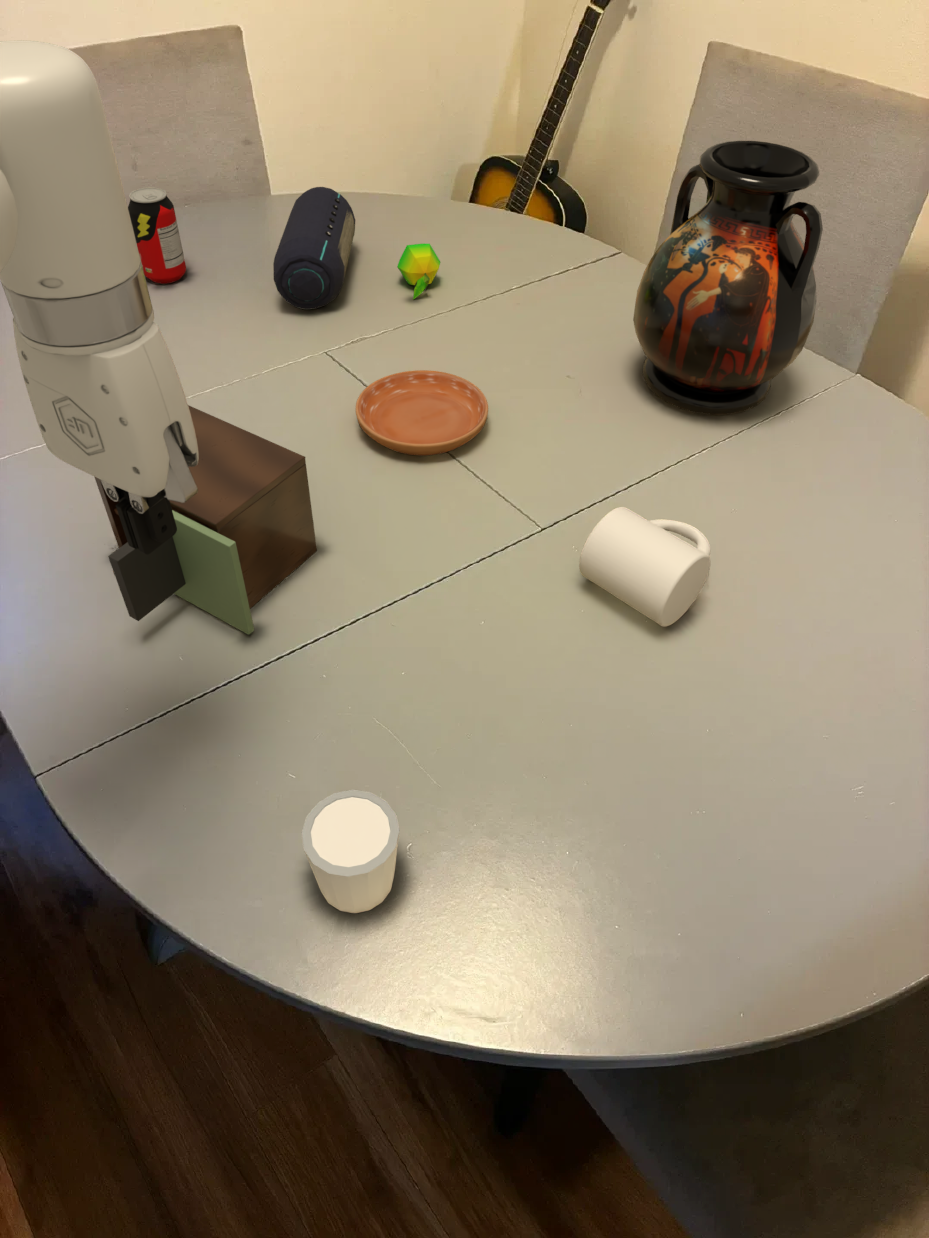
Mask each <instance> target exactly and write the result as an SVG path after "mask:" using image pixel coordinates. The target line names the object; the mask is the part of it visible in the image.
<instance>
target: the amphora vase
mask: <svg viewBox="0 0 929 1238" xmlns="http://www.w3.org/2000/svg"><path fill="white" fill-rule="evenodd" d="M819 176H820V169H819V165H818V164H817V162H816V161H815V160H814V159H813V158H812V157H811V156H809V155H808V154H806V153H805V152H803V151H800V150H798V149H796V148H793V147H790V146H787V145H783V144H779V143H774V142H768V141H761V140H730V141H725V142H724V141H723V142H720V143H716V144H714V145H712V146H710V147H708V148H706V149H705V150H704V151H703V152H702V153H701V155H700V156H699V163H698V164H696V165H693V166H692V167H691V168H689V170H688V171H687V173H686V174H685V175H684V176H683V178H682V179H681V183H680V186H679V189H678V192H677V196H676V202H675V207H674V212H673V217H672V223H671V228H670V232H669V233H670V234H669V236H667V238H665V240H664V241H663V242H662V243H660V245H659V247H658V248H657V249H656V250H655V252H654V253H653V254H652V256H651V257H650V260H649V262H648V263H647V265H646V267H645V269H644V271H643V273H642V277H641V279H640V282H639V285H638V288H637V290H636V296H635V303H634V311H633V318H632V321H633V326H634V331H635V335H636V337H637V340H638V342H639V345H640V347H641V349H642V352H643V353H644V355H645V356H646V359H644V361H643V367H642V376H643V379H644V381H645V384H646V385H647V387H648V388H649V389H650V390H651V391H652V393H653V394H654V395H655V396H657V397H658V398H659V399H662V400H663V401H664V402H665V403H668V404H669V405H671V406H674V407H676V408H678V409H682V410H684V411H688V412H692V413H694V414H695V413H696V414H701V415H711V416H719V415H720V416H721V415H722V416H723V415H725V416H727V415H734V414H738V413H739V414H740V413H743V412H746V411H748V410H750V409H753V408H755V407H756V406H758V405H760V404H761V403H762V402H763V401H764V400H765V399H766V398H767V395H768V393H769V391H770V389H771V386H772V385H771V380H773V379H774V378H775V377H776V376H778V375H779V374H781V372H783V371H784V370H786V369H787V368H788V367H789V366H790V365H791V364H793V362H795V360H796V359H797V358H798V356H799V355H800V354H801V353H802V351H803V349H804V346H805V345H806V343H807V340H808V338H809V336H810V332H811V329H812V327H813V324H814V323H815V322H814V321H815V314H816V306H817V281H816V275H815V269H814V265H815V261H816V258H817V255H818V252H819V249H820V245H821V240H822V236H823V230H824V229H823V228H824V227H823V221H822V214H821V212H820V210H819V209H818V208H817V206H815V204H812V203H810V202H805V201H798V202H794V203H793V204H791V202H792V200H793V197H794V195H795V192H800V191H803V190H806V189H807V188H810V186H812V185H814V184H815V183H816V181H817V180H818V178H819ZM700 178H701V179H702V180H703V181H704V185H705V187H706V191H707V192H706V199H705V200H706V202H705V204H704V205H703V206H702V207H701V208H700V209H699V210H697V212H695V213H694V214H692V215H691V216H690V215H689V214H690V208H691V201H692V195H693V192H694V189H695V187H696V184H697V181H698V180H699V179H700ZM796 215H797V216H799V217H801V218H802V219H803V222H804V223H805V236H804V237H805V238H804V241H803V239H802V237H801V235H800V234H799V232H798V230H797V228H796V227H795V224H794V223H793V219H794V217H795V216H796ZM689 216H690V217H689Z"/></svg>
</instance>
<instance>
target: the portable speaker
mask: <svg viewBox="0 0 929 1238" xmlns="http://www.w3.org/2000/svg"><path fill="white" fill-rule="evenodd" d="M355 231H356V217H355V214H354V211H353V208H352V207H351V205H350V203H349V202H348V200H347V199H346V198H345V197H344V196H343V195H342V194H341V193H339V192H337V191H336V190H334V189H332V188H330V187H326V186H315V187H311V188H309V189H307V190H306V191H304V192H303V193H302V194H301V195H300V196H298V198H296V199H295V201H294V204H293V206H292V208H291V211H290V213H289V215H288V218H287V222H286V225H285V228H284V230H283V233H282V235H281V238H280V242H279V243H278V246H277V250H276V252H275V255H274V259H273V264H272V265H273V281H274V286H275V288H276V290H277V293H278V294H279V295H280V296H281V297H282V298H283V299H284V301H285V302H286V303H288V304H290V305H292V306H293V308H298V309H301V310H315V309H319V308H321V307H324V306H327V305H328V304H330V303H331V302H332V301H334V300H335V299H336V298H337V297H338V296H339V294H340V292H341V290H342V287H343V285H344V282H345V277H346V273H347V268H348V263H349V259H350V254H351V250H352V245H353V241H354V237H355V233H356V232H355Z"/></svg>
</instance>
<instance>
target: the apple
mask: <svg viewBox="0 0 929 1238" xmlns="http://www.w3.org/2000/svg"><path fill="white" fill-rule="evenodd" d="M440 266H441V260H440V259H439V257H438V255H437V253H436V251H435V250H434V249H433V247H432V245H431V243H416V244H407V245H406V246H405V248H404V250H403V252H402V254H401V256H400V258H399V261H398V263H397V267H396V268H397V269H398V270H399V272H400V274H401V275H402V277H403V278H404V280H405V282H406V283H407V285H410V286H414V288H413V296H412V299H413V301H414V300H415V299H416V298H417V297H419V296H420V295H421V294H422V293H424V292H425V291H426V290H427V288H428V286H429V285H431V284H432V282H433V281H434V279H435V277H436V275H437V273H438V272H439V270H440Z"/></svg>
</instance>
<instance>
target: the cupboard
mask: <svg viewBox="0 0 929 1238" xmlns="http://www.w3.org/2000/svg"><path fill="white" fill-rule="evenodd" d="M188 407H189V410H190V414H191V418H192V422H193V425H194V429H195V434H196V439H197V445H198V453H199V460H198V464H197V465H196V466H194V467H189V466H188V467H189V469H190V472H191V474H192V476H193V479H194V481H195V483H196V486H197V488H198V493H197V494H195V495H194V496H193V497H191V498H190V499H189V500H187V501H186V502H185V503H181V502H176V501H171V500H169V501H170V505H171V508H172V510H173V511H175V512H177V513H179V514H181V515H183V516H185V517H187V518H189V519H191V520H193V521H195V522H197V523H199V524H201V525H203V526H205V527H207V528H209V529H211V530H213V531H215V532H217V533H219V534H221V535H223V536H225V537H227V538H229V539H231V540H233V541H235V542H236V547H237V551H238V556H239V561H240V566H241V570H242V575H243V580H244V584H245V589H246V594H247V598H248V603H249V608H250V609H251V608H253V607H254V606H255V605H257V603H259V602H260V601H261V600H262V599H263V598H264V597H265V596H266V595H268V594H269V593H270V592H271V591H272V590H274V589H275V588H276V587H277V586H278V585H280V584H281V582H283V581H284V580H285V579H287V577H288V576H290V575H291V574H293V572H294V571H295V570H297V569H298V568H299V567H300V566H301V565H302V564H304V563H305V562H306V561H307V560H309V558H311V557H312V556H313V555H314V554H315V553H317V551H318V547H317V540H316V532H315V524H314V516H313V509H312V501H311V493H310V485H309V484H310V483H309V477H308V469H307V461H306V457H305V456H304V455H302V454H300V453H297V452H295V451H293V450H291V449H289V448H286V447H284V446H282V445H279V444H277V443H275V442H273V441H270V440H268V439H267V438H264V437H261V436H259V435H257V434H255V433H252V432H251V431H248V430H246V429H244V428H241V427H239V426H236V425H234V424H232V423H230V422H227V421H225V420H224V419H221V418H218V417H216V416H214V415H212V414H210V413H207V412H205V411H202V410H200V409H198V408H196V407H194V406H192V405H189V404H188ZM94 480H95V483H96V486H97V489H98V492H99V494H100V498H101V501H102V504H103V506H104V510H105V512H106V515H107V518H108V521H109V524H110V527H111V530H112V532H113V535H114V539H115V541H116V544H117V547H118V549H119V548H120V547H121V546H123V545H124V544H126V543H127V542H128V541H127V538H126V535H125V532H124V529H123V526H122V523H121V520H120V517H119V514H118V511H117V508H116V504H118V503H119V501H117V502H115V501H113V500H111V499H110V498H109V497H108V495H107V494H106V492H105V489H104V487H103V485H102V483H101V480H100V479H99V478H97V477H94Z"/></svg>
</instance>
